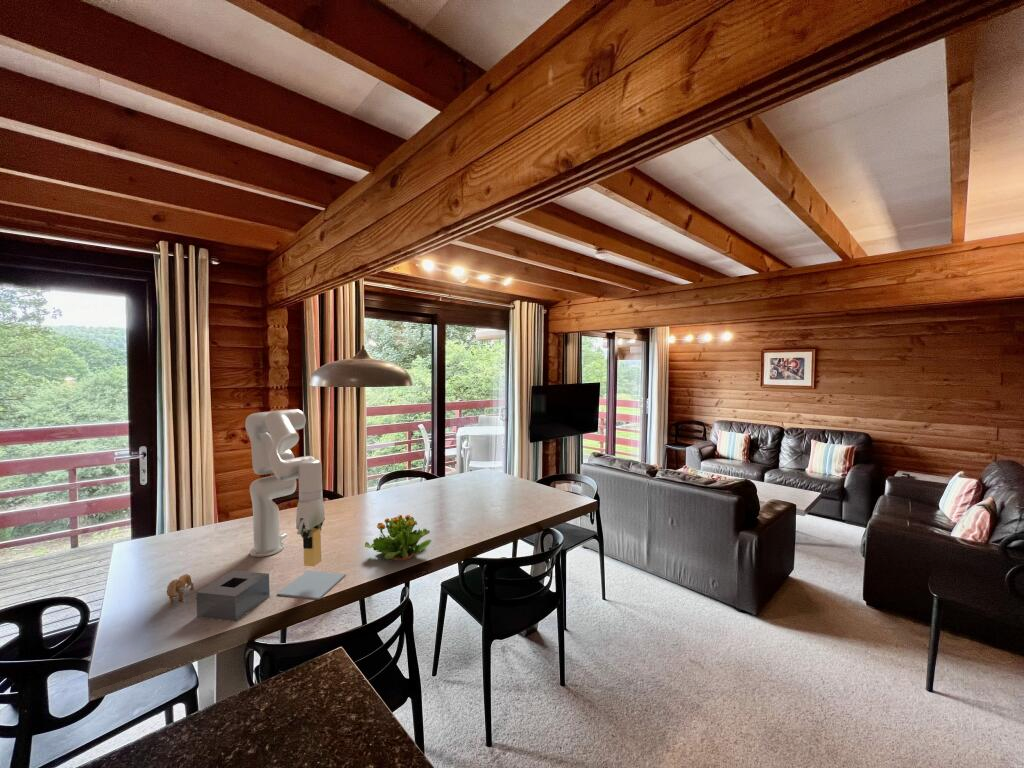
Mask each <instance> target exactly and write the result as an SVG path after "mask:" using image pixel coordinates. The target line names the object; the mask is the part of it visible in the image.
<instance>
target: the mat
mask: <svg viewBox="0 0 1024 768" xmlns="http://www.w3.org/2000/svg"><path fill="white" fill-rule="evenodd" d="M346 576H347V575H346V573H337V572H327V571H325V572H324V571H315V570H314V571H312V570H306V571H305V572H303V573H302V574H301V575H299V576H298V577H297V578H295V579H294V580H293V581H292V582H290V583H288V585H286V586H285V587H284V588H282V589H281V590H279V591H278V592H277V593H276V596H279V595H280V596H281V597H290V598H298V599H300V598H301V599H309V600H310V599H311V600H321V599H322V598H323V597H324V596H325V595H326V594H327V593H328V592H329V591H330V590H332V589H333V587H335V586H336V585H337V584H338V583H339V582H340V581H341V580H342V579H344V578H345V577H346Z"/></svg>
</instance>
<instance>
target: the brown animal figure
mask: <svg viewBox="0 0 1024 768" xmlns="http://www.w3.org/2000/svg"><path fill="white" fill-rule="evenodd" d="M189 586H190V588H189V591H194V589H195V587H194V583H193V582H192V577H191V575H190V574H187V573H185V574H183V575H181V576H180V577H179V578H178V579H173V580H172V581H170V582H169V584H168V585H167V587H166V589H167V590H166V595H167V597H168V598H169V602H170V603H169V604H168V606H169V607H171V606H173V605H174V604H175V601H174V598H175V599H176V598H177V597H178V604H182V603H184V599H183V597H184V589H185V588H188V587H189Z"/></svg>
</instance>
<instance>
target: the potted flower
mask: <svg viewBox="0 0 1024 768" xmlns="http://www.w3.org/2000/svg"><path fill="white" fill-rule="evenodd" d="M384 523H385V524H384ZM384 523H383V522H378V523H377V525H376V528H378V529H377V530H380V534H379V535H380V536H379V537H375V538H373V540H372V542H373V543H372V544H370V543H369V542H368V541H365V543H364V547H365V548H368V549H371V548H372V549H373V551H376V553H381V554H384V558H385V560H393V561H397V562H399V561H400V562H401V561H403V562H404V561H406V560H410V559H412V558H413V557H414V555H415V554H418V553H420V552H421V551H423V550H425V549H426V548H427V547H428V546H429V545H430V544H431V543H432V539H426V540H424V541H423V542H421V543H420V544H418V543H419V541H420V540H421V539H422V538H423V537H425V536H426V535H429V534H430V532H431V531H430V530H427V528H423V529H422V530H421V529H420V528H418V530H417V529H414V527H415V526H417V525H418V521H417V520H415V518H414V517H413V516H411V515H410V514H406V515H405V516H403V515H402V514H398V515H397V516H395V517H392V518H388V517H386V518H385V520H384ZM384 529H387V533H388V534H389V535H387V536H386V535H385V534H384V532H383V530H384Z"/></svg>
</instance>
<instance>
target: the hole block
mask: <svg viewBox="0 0 1024 768" xmlns="http://www.w3.org/2000/svg"><path fill="white" fill-rule="evenodd" d="M195 593H196V594H195V596H196V598H195V599H196V617H197V618H201V617H203V619H210V618H213V619H212V620H219V619H221V620H220V621H228V620H230V621H229V622H238V621H239V620H241V618H243V617H244V616H246V615H247V614H248V613H250V612H251V611H252V610H254V609H255V608H256V607H258V605H260V604H261V603H263V602H264V601H265V600H267V599H268V598H269V597H270V573H267V572H258V571H257V572H255V571H243V570H234V569H233V570H231V571H229V572H227V573H226V574H224V575H223V576H221V577H219V578H217V579H216V580H215V581H213V582H211V583H209V584H208V585H206V586H204V587H203V588H201V589H199V590H198V591H196V592H195ZM246 613H247V614H246ZM242 616H243V617H242Z"/></svg>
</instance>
